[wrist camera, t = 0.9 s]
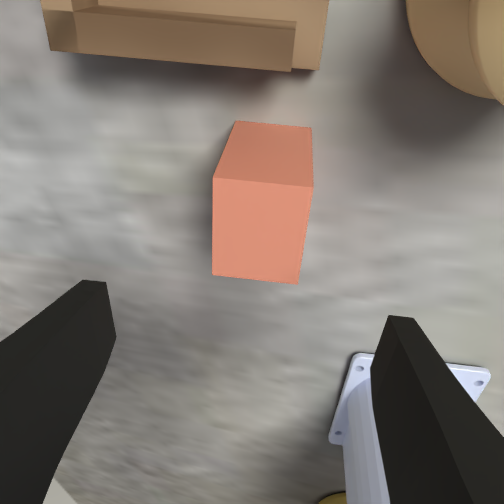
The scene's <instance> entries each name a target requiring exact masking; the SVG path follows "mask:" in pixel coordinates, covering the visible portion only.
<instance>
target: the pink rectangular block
mask: <svg viewBox="0 0 504 504" xmlns="http://www.w3.org/2000/svg"><path fill="white" fill-rule="evenodd" d="M313 188H314V187H313V159H312V130H311V128H307V127H297V126H287V125H276V124H266V123H255V122H245V121H236V122H235V124H234V126H233V129H232V131H231V134H230V136H229V139H228V141H227V144H226V146H225V149H224V151H223V153H222V156H221V158H220V161H219V163H218V166H217V168H216V171H215V173H214V175H213V219H212V275H218V276H227V277H236V278H245V279H253V280H262V281H271V282H280V283H289V284H297V285H298V279H299V273H300V267H301V261H302V255H303V249H304V242H305V236H306V230H307V224H308V218H309V212H310V206H311V200H312V194H313Z"/></svg>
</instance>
